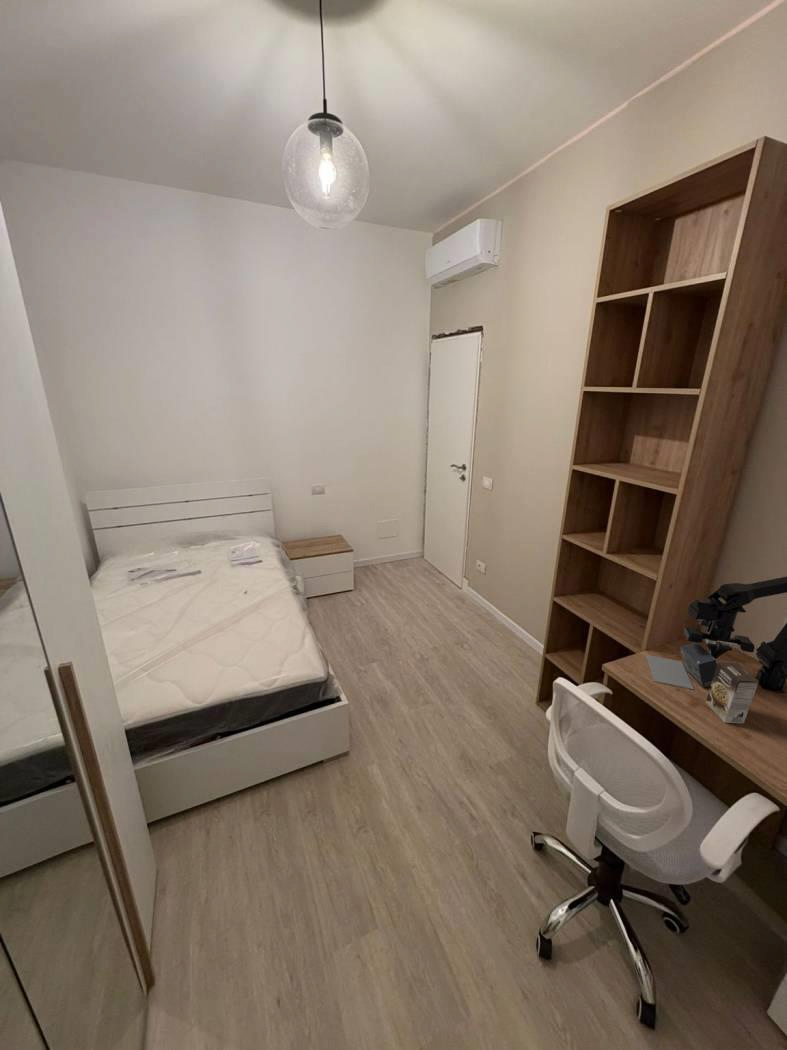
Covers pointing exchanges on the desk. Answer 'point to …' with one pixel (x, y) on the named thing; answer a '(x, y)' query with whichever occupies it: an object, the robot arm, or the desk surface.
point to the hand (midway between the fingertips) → (711, 659)
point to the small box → (699, 663)
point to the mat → (669, 672)
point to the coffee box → (731, 692)
